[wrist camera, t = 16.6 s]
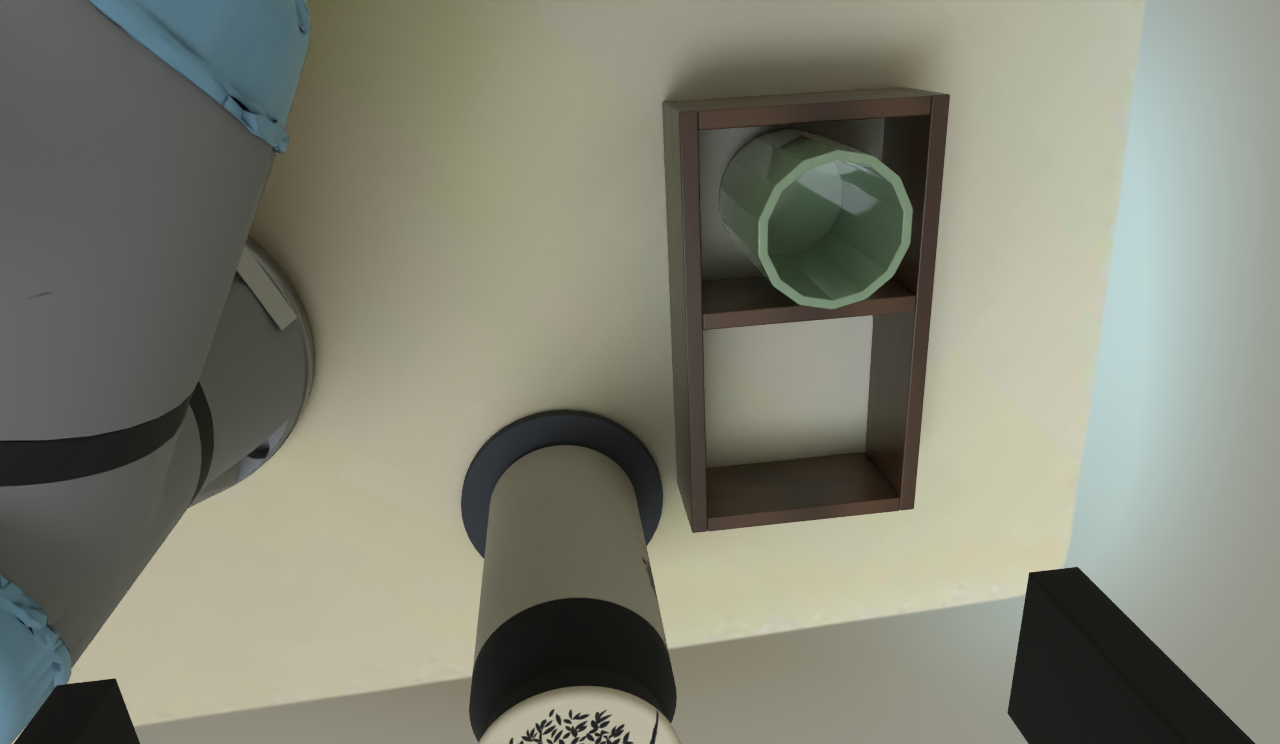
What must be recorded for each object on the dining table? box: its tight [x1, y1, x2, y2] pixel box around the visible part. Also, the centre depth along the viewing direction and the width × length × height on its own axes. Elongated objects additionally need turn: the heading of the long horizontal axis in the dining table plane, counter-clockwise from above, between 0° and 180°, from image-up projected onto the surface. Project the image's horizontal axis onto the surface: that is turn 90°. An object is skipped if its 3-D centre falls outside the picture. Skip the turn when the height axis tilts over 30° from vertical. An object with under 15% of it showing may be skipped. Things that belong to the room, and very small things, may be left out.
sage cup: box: [719, 129, 913, 309], centre depth 37 cm, size 6×6×8 cm
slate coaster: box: [461, 411, 663, 558], centre depth 46 cm, size 11×11×1 cm
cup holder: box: [662, 87, 950, 533], centre depth 41 cm, size 12×20×5 cm, turn 3°
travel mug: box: [469, 445, 680, 744], centre depth 37 cm, size 8×8×18 cm
